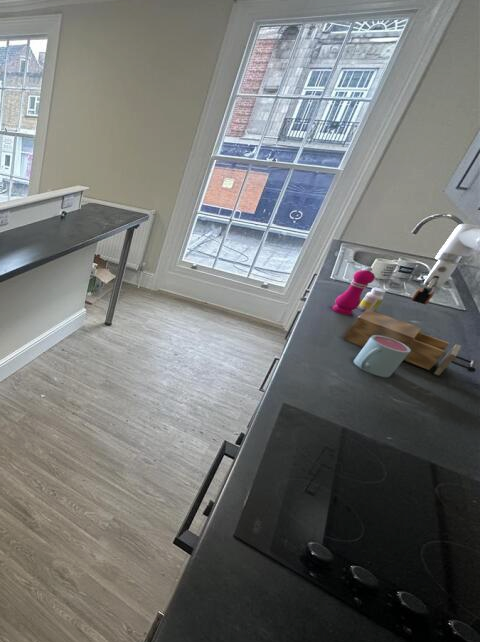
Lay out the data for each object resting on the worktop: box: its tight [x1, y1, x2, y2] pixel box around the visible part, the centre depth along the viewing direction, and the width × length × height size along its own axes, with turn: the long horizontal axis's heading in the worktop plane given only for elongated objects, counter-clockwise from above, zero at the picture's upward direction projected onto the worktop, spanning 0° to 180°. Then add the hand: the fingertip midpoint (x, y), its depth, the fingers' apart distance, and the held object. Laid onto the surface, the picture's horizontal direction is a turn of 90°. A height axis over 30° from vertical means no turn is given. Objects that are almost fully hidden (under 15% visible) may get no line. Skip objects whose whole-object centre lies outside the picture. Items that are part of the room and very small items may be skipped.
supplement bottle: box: [358, 287, 387, 312], centre depth 164 cm, size 5×5×10 cm
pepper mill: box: [331, 266, 376, 316], centre depth 158 cm, size 7×7×20 cm
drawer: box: [403, 331, 479, 377], centre depth 130 cm, size 19×11×8 cm, turn 36°
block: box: [410, 288, 436, 306], centre depth 158 cm, size 4×4×4 cm
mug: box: [353, 335, 411, 378], centre depth 124 cm, size 14×9×10 cm
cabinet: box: [343, 309, 422, 348], centre depth 139 cm, size 15×13×10 cm
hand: (419, 300), depth 159 cm, fingers closed on block, 4 cm apart
